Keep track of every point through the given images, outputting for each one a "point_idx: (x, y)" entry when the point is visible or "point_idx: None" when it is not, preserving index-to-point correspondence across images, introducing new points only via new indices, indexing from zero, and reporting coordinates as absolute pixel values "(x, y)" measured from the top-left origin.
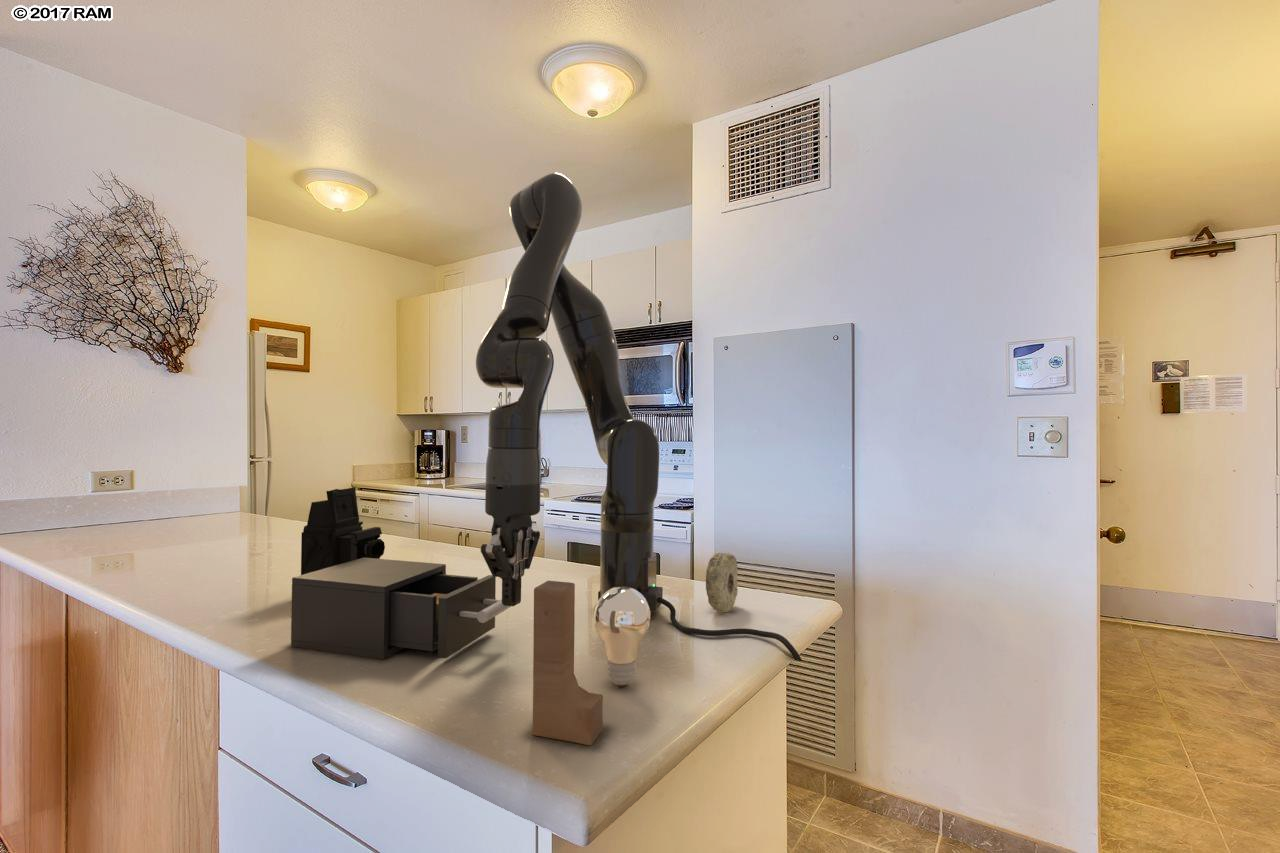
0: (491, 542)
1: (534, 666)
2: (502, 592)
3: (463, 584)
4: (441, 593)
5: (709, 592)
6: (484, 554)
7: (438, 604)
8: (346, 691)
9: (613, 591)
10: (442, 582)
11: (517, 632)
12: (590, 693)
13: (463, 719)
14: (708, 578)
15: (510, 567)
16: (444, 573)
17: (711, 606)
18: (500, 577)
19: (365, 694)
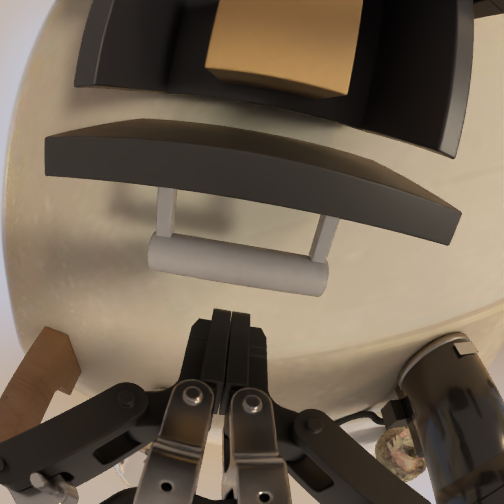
0: (17, 500)
1: (14, 374)
2: (187, 345)
3: (431, 89)
4: (416, 10)
5: (382, 450)
6: (7, 446)
7: (208, 47)
8: (42, 46)
9: (128, 484)
10: (439, 3)
11: (368, 226)
12: (64, 389)
13: (30, 256)
14: (388, 462)
15: (134, 450)
16: (490, 9)
17: (387, 432)
18: (181, 384)
19: (36, 81)
